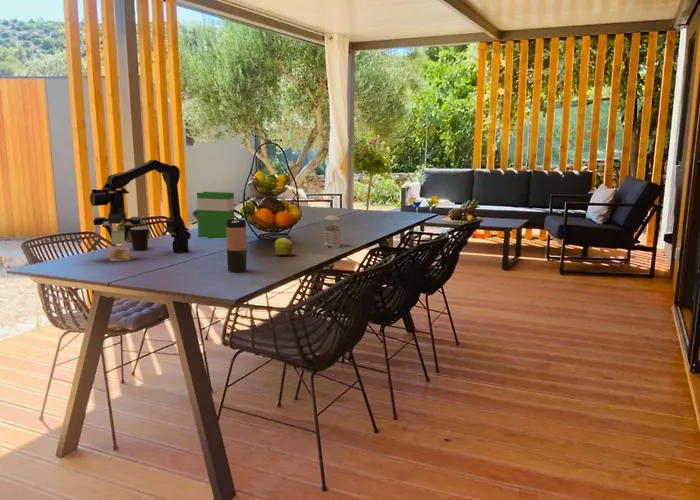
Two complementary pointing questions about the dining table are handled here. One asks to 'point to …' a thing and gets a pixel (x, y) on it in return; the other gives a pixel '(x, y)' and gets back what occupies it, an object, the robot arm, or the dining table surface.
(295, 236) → the dining table surface
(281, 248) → the apple
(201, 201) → the cereal box
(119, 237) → the yellow cube
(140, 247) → the coffee mug
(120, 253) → the oak block
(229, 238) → the travel mug
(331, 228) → the french press
